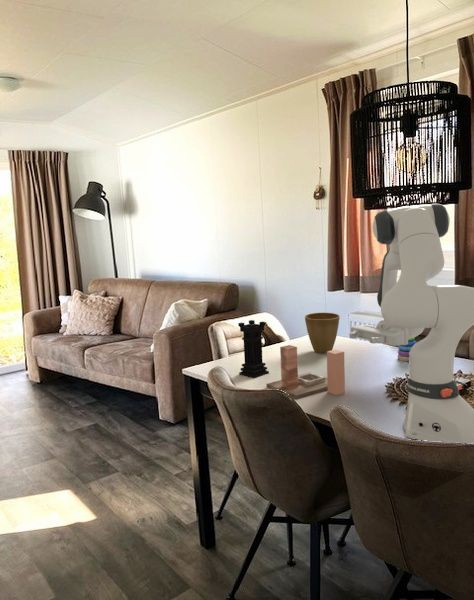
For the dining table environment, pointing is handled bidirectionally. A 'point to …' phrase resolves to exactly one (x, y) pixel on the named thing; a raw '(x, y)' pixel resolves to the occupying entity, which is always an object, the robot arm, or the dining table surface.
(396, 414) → the dining table surface
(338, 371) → the loose pillar
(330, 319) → the plant pot
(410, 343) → the stacking toy
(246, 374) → the chess piece
